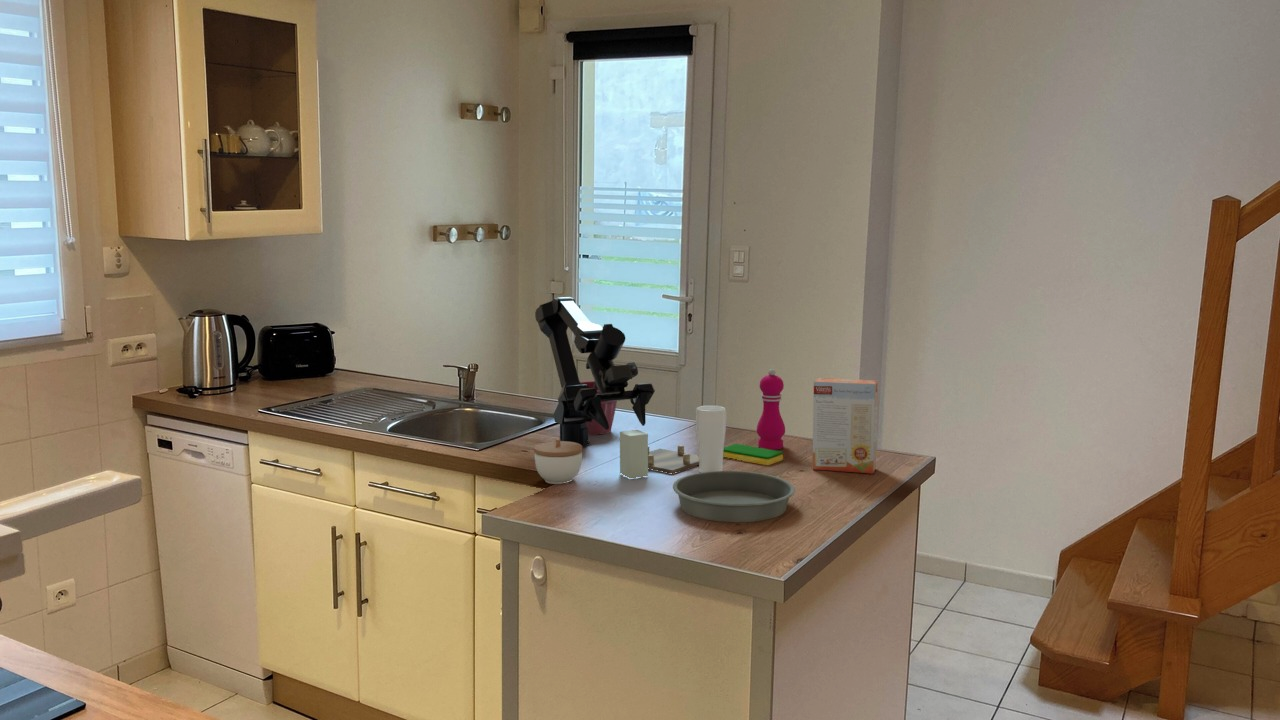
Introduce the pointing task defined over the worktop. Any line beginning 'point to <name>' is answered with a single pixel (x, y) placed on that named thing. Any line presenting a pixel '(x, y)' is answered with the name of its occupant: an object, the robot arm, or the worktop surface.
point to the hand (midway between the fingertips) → (626, 426)
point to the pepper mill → (771, 413)
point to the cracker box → (845, 425)
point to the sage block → (634, 453)
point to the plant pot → (609, 412)
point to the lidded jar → (558, 460)
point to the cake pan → (733, 495)
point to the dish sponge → (752, 454)
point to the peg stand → (671, 460)
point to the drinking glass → (710, 437)
